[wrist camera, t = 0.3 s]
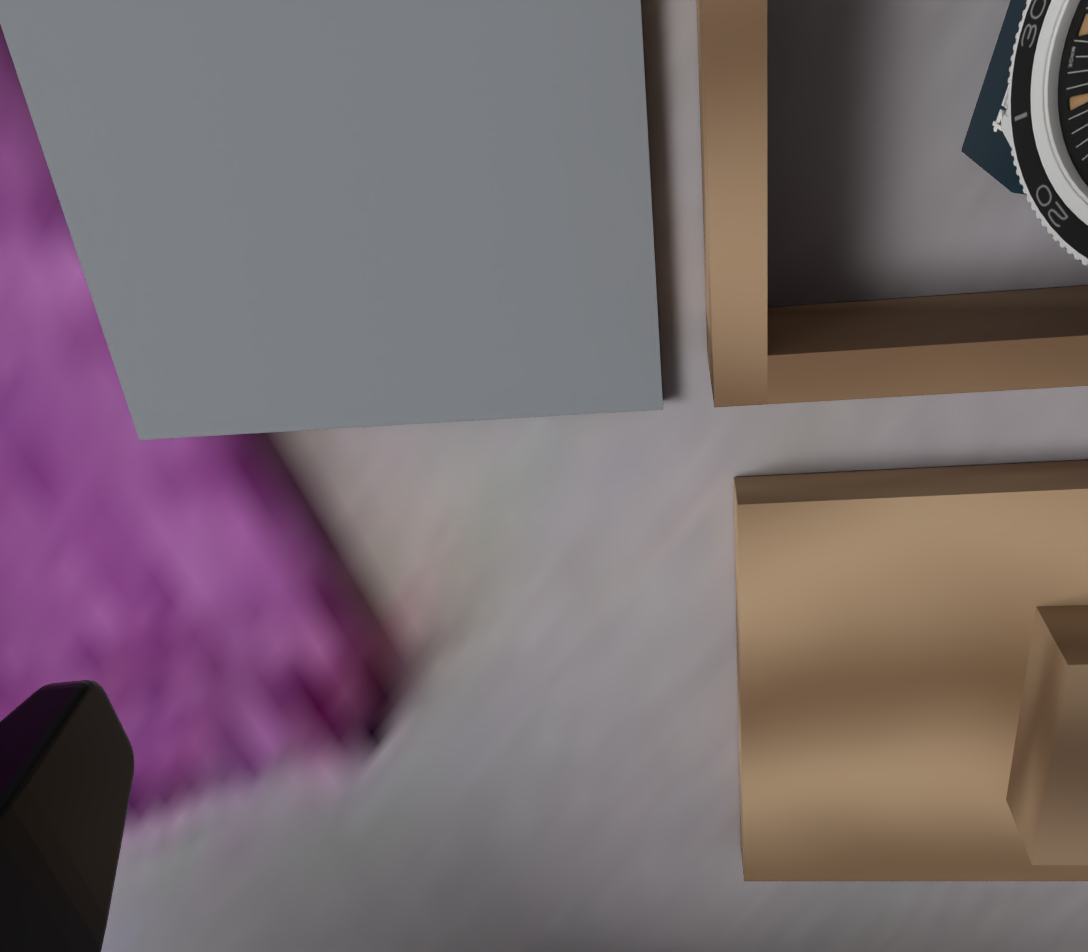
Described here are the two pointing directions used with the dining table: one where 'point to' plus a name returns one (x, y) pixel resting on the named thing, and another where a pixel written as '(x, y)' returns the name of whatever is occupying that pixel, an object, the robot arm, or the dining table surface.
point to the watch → (1039, 115)
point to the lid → (914, 673)
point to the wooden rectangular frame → (849, 327)
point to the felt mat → (353, 205)
